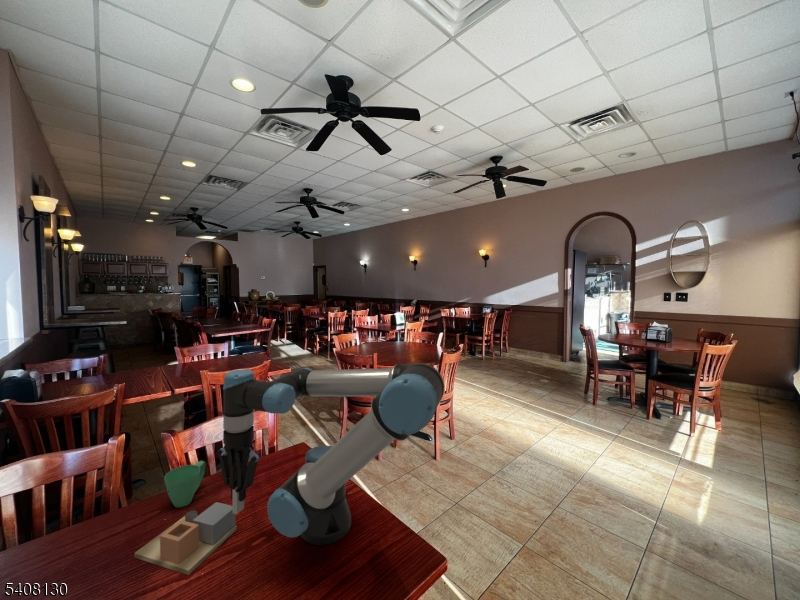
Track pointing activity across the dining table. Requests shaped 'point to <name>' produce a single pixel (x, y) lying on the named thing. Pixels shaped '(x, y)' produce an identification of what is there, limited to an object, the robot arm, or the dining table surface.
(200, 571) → the dining table surface
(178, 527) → the orange open-topped box
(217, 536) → the cover
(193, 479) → the green rounded tapered part
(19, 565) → the dining table surface
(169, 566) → the housing board
